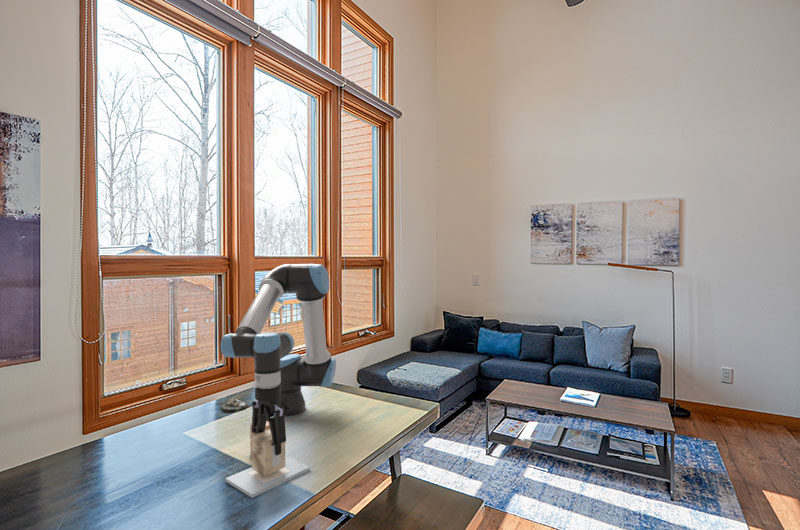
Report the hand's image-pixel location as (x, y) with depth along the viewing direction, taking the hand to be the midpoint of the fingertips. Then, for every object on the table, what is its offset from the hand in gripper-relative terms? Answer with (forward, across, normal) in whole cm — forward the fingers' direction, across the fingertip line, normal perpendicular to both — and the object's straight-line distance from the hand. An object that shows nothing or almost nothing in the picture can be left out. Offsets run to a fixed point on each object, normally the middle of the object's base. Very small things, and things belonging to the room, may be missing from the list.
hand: (268, 460), depth 132 cm
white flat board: (+5, 0, 0) cm, 5 cm away
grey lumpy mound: (+5, -63, +25) cm, 68 cm away
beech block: (+2, 0, 0) cm, 2 cm away
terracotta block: (+5, -15, +8) cm, 18 cm away
